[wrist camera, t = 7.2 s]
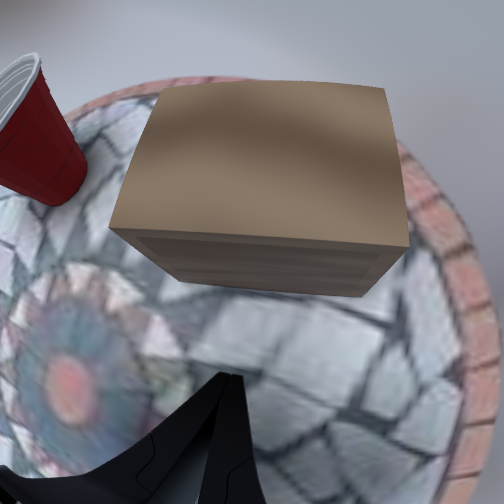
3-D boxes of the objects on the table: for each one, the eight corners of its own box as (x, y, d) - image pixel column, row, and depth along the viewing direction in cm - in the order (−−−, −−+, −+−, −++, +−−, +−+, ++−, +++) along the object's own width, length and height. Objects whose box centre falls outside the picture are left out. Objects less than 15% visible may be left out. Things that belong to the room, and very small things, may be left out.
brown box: (361, 297, 17) (409, 246, 9) (179, 281, 18) (108, 227, 11) (360, 179, 19) (384, 88, 12) (202, 172, 21) (162, 88, 14)
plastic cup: (19, 245, 22) (-72, 188, 11) (40, 157, 26) (-24, 92, 15) (103, 219, 21) (-1, 125, 10) (117, 123, 25) (57, 32, 14)
